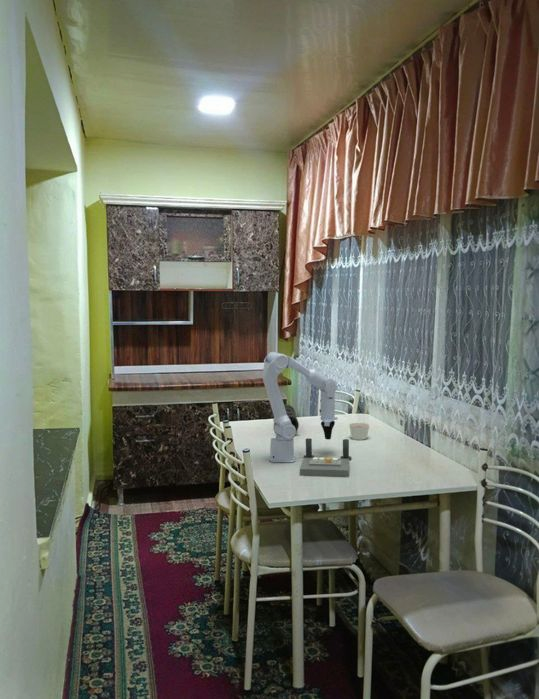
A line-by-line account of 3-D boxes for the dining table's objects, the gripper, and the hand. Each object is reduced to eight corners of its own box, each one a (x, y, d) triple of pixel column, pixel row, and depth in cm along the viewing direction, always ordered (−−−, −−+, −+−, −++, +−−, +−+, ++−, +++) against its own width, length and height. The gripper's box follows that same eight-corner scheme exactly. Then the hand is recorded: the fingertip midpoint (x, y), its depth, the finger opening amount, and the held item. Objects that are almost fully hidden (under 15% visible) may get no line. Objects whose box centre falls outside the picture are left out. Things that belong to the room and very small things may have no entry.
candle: (367, 441, 261) (367, 427, 260) (347, 440, 264) (347, 426, 263) (370, 436, 269) (370, 423, 268) (351, 435, 272) (351, 422, 271)
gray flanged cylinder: (303, 459, 235) (302, 440, 234) (304, 456, 239) (303, 437, 239) (313, 460, 234) (313, 440, 234) (314, 456, 239) (314, 437, 238)
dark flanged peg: (340, 460, 233) (340, 441, 232) (340, 457, 237) (340, 438, 236) (351, 461, 232) (351, 441, 231) (351, 457, 237) (351, 438, 236)
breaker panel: (300, 475, 216) (299, 463, 215) (303, 464, 229) (303, 452, 229) (348, 476, 213) (348, 464, 212) (349, 465, 227) (349, 453, 226)
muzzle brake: (279, 437, 271) (278, 415, 270) (276, 423, 299) (276, 403, 298) (299, 436, 272) (299, 415, 270) (294, 422, 299) (294, 403, 298)
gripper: (336, 410, 232) (337, 443, 234) (338, 403, 247) (338, 434, 248) (319, 410, 233) (319, 443, 235) (321, 403, 248) (321, 434, 249)
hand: (328, 439), depth 242 cm, fingers closed
